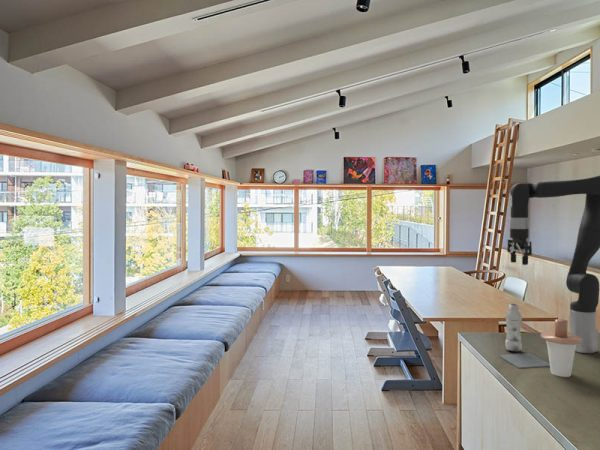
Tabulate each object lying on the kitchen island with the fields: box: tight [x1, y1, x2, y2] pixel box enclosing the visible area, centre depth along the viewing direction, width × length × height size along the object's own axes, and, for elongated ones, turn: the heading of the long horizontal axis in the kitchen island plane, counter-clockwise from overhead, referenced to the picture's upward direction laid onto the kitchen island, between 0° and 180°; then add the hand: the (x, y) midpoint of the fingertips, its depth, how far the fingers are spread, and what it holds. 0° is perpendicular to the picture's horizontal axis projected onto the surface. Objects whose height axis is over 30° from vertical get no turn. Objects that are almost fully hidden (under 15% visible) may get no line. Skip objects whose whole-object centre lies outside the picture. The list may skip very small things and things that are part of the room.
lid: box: [540, 318, 582, 345], centre depth 160 cm, size 13×13×7 cm
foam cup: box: [545, 340, 576, 378], centre depth 160 cm, size 10×9×13 cm
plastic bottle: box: [504, 303, 523, 352], centre depth 185 cm, size 6×7×20 cm
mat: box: [497, 352, 550, 369], centre depth 174 cm, size 14×14×1 cm
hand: (519, 263), depth 195 cm, fingers open, 8 cm apart
